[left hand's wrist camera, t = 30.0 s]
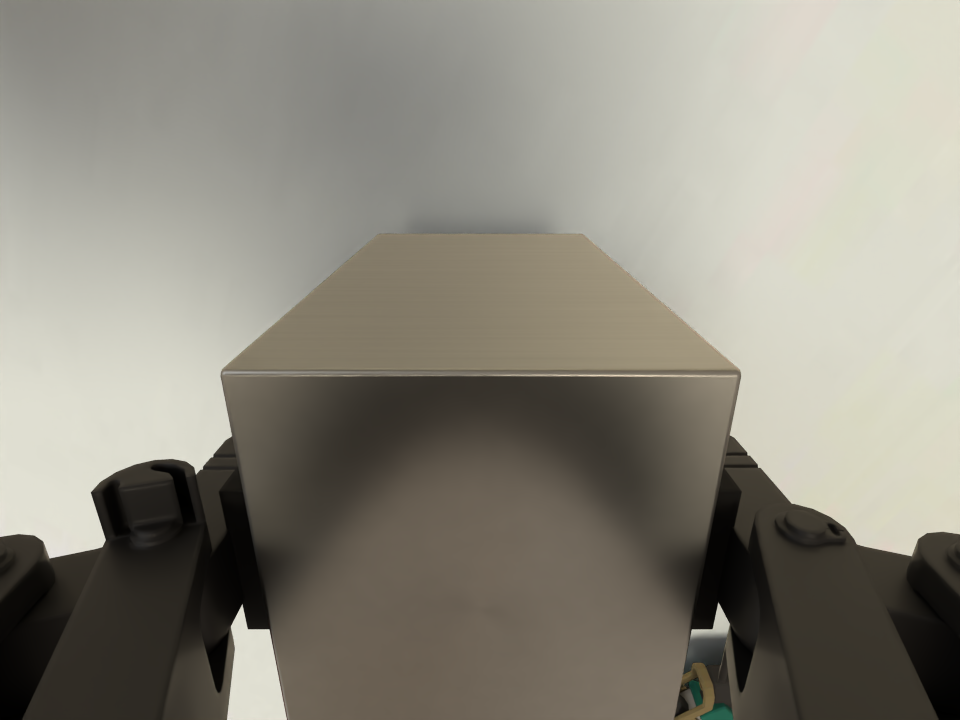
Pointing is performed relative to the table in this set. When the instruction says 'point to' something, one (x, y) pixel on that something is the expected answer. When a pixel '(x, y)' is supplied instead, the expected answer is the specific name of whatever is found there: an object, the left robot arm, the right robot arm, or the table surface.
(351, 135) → the table surface
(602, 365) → the brick
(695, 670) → the spray gun
